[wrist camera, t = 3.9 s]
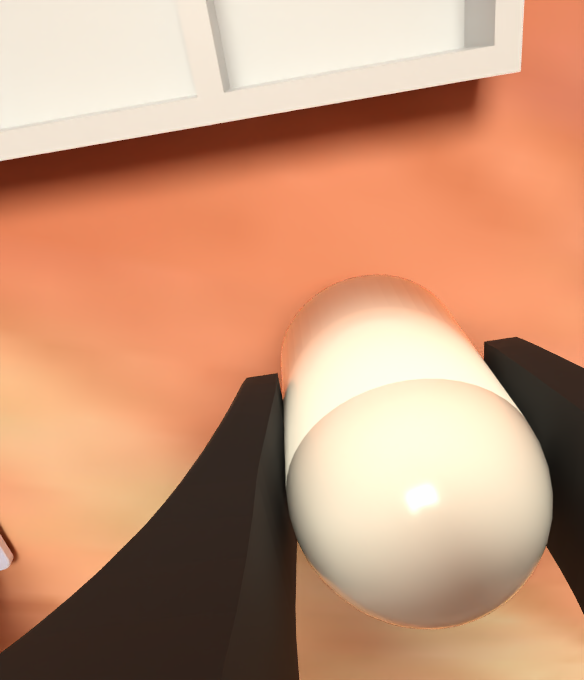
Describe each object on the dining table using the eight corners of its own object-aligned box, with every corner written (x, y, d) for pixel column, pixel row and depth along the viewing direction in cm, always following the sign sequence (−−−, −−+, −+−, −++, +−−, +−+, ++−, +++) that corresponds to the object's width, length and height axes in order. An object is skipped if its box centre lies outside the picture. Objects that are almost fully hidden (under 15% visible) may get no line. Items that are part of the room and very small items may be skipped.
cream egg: (457, 415, 13) (593, 670, 7) (295, 438, 13) (313, 705, 7) (457, 260, 11) (640, 455, 5) (266, 290, 11) (264, 509, 6)
